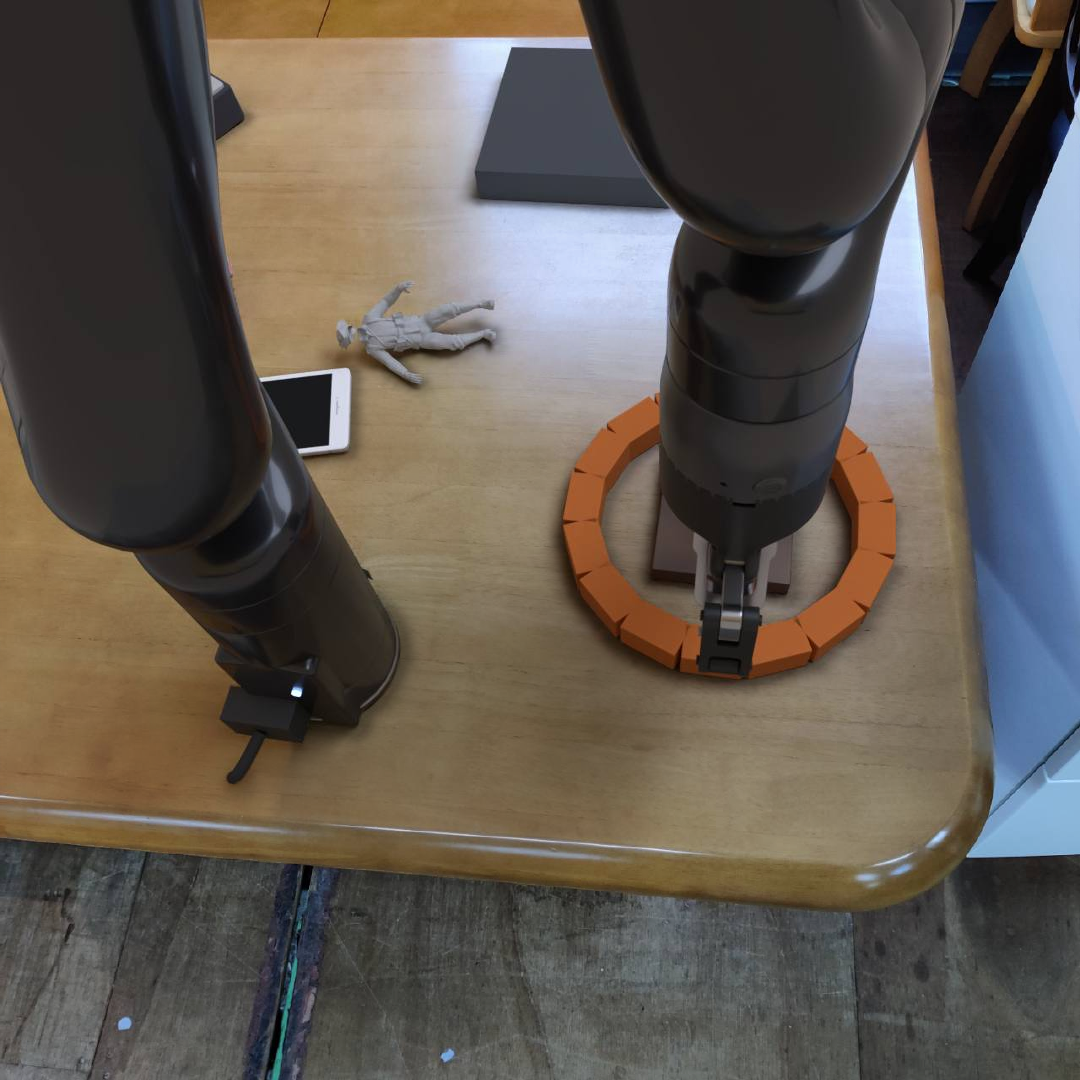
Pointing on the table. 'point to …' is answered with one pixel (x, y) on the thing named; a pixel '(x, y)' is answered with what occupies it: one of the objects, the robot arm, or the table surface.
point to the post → (681, 560)
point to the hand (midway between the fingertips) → (725, 587)
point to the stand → (557, 136)
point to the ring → (677, 638)
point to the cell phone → (314, 408)
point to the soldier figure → (410, 330)
